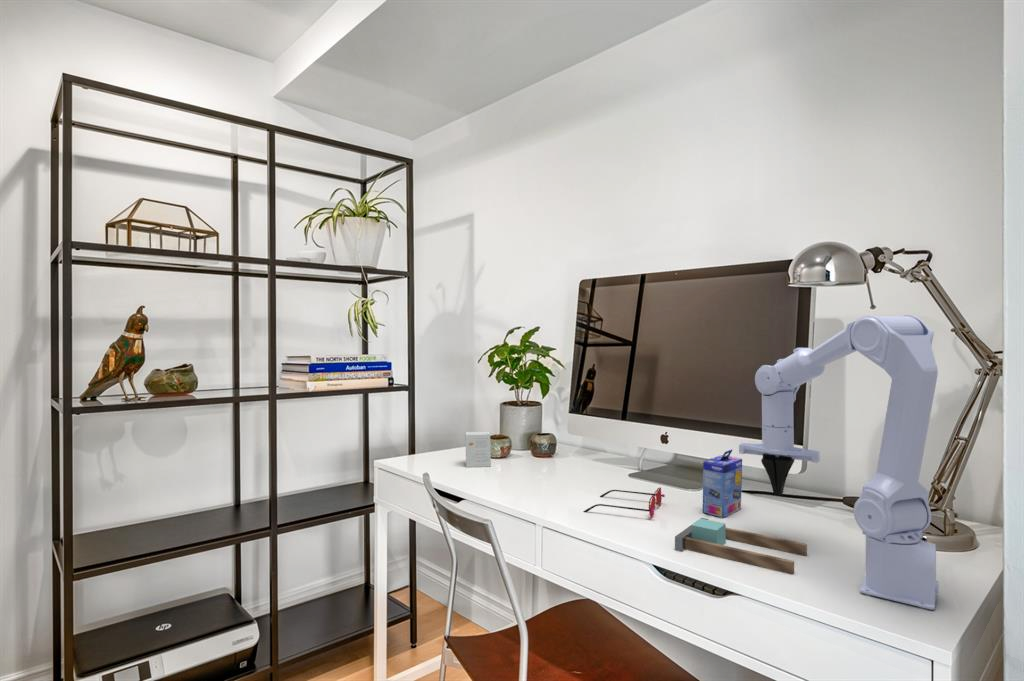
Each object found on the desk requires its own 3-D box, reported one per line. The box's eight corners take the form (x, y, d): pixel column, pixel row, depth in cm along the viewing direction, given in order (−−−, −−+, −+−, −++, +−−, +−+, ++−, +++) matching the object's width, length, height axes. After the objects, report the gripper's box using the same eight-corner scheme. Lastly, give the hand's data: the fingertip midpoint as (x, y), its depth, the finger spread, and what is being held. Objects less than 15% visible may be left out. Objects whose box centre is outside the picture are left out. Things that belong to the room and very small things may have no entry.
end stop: (708, 530, 118) (708, 519, 118) (682, 551, 107) (682, 538, 107) (701, 529, 119) (701, 517, 119) (674, 549, 108) (674, 536, 108)
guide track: (806, 554, 105) (806, 543, 105) (792, 574, 97) (792, 562, 97) (705, 532, 117) (705, 523, 117) (685, 549, 108) (685, 538, 108)
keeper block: (725, 543, 112) (725, 523, 112) (717, 551, 108) (716, 530, 108) (700, 537, 115) (700, 518, 115) (691, 545, 111) (691, 525, 111)
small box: (490, 463, 184) (490, 430, 184) (491, 467, 178) (490, 433, 178) (466, 463, 183) (465, 431, 183) (465, 467, 178) (465, 434, 178)
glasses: (654, 523, 125) (653, 500, 125) (582, 513, 132) (582, 492, 132) (665, 505, 138) (665, 485, 138) (599, 497, 145) (599, 478, 145)
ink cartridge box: (724, 519, 126) (724, 454, 126) (701, 513, 130) (700, 451, 129) (743, 509, 133) (742, 447, 132) (720, 504, 137) (720, 444, 136)
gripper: (822, 426, 111) (823, 494, 111) (745, 419, 120) (746, 483, 120) (815, 431, 105) (815, 503, 105) (735, 424, 114) (736, 490, 114)
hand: (778, 493), depth 112 cm, fingers closed
